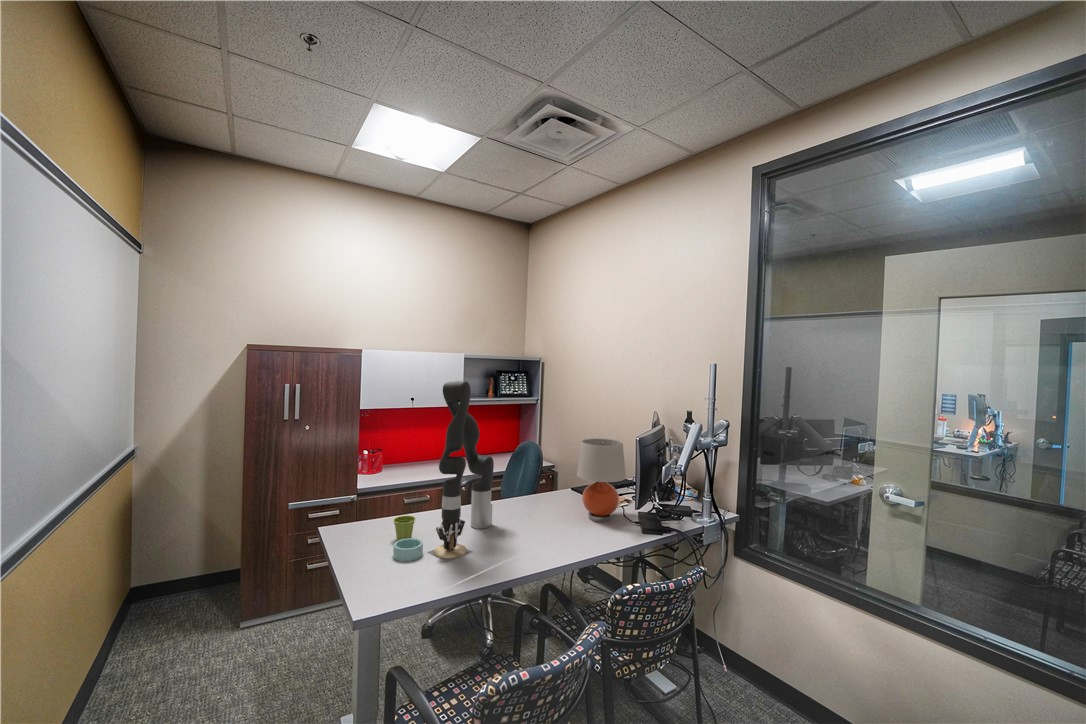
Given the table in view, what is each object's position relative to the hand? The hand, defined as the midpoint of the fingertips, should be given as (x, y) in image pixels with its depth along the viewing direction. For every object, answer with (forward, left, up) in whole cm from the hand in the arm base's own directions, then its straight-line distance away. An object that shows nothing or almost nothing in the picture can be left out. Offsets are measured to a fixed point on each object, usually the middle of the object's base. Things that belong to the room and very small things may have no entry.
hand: (450, 548), depth 186 cm
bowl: (+13, -10, -2) cm, 17 cm away
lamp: (-79, +22, -2) cm, 82 cm away
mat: (0, 0, -2) cm, 2 cm away
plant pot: (+4, -26, -2) cm, 26 cm away
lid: (0, 0, -2) cm, 2 cm away
